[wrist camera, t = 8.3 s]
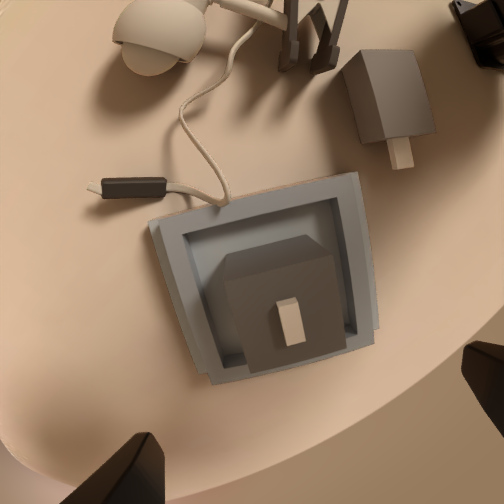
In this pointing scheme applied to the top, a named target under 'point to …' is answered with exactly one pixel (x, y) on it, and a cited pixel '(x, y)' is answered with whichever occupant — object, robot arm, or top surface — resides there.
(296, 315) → the brick
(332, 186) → the blue gray tray
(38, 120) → the top surface
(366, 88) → the cable plug
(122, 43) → the clip-on lamp
